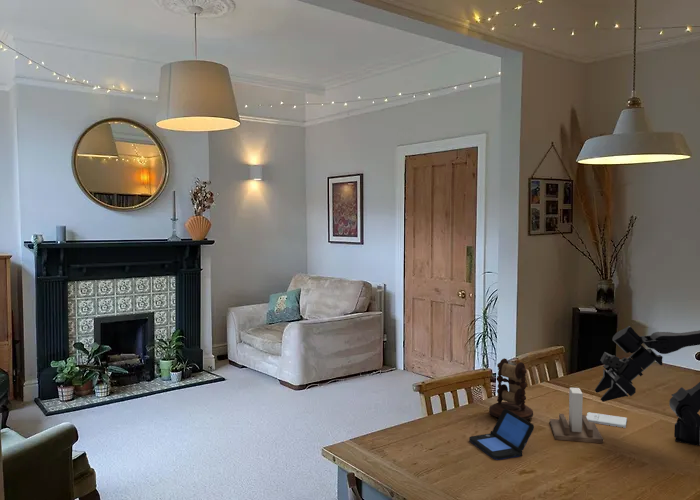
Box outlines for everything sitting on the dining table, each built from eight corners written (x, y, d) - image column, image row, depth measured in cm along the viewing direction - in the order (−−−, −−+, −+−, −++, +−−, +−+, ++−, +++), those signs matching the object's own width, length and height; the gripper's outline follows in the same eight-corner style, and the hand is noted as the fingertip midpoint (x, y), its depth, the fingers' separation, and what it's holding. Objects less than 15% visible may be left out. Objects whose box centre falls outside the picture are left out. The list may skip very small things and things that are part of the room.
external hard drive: (625, 429, 187) (585, 423, 193) (626, 422, 195) (587, 415, 201) (625, 425, 187) (585, 418, 193) (627, 417, 194) (587, 411, 200)
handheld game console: (467, 441, 178) (467, 412, 177) (504, 435, 182) (504, 407, 181) (495, 461, 163) (496, 430, 162) (535, 455, 167) (535, 424, 167)
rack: (593, 425, 190) (594, 414, 189) (603, 443, 175) (603, 431, 175) (549, 422, 193) (549, 411, 192) (555, 439, 178) (555, 428, 178)
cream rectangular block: (578, 425, 186) (579, 388, 186) (581, 432, 181) (582, 393, 180) (568, 424, 187) (569, 387, 186) (571, 431, 181) (572, 393, 180)
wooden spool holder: (541, 417, 197) (542, 360, 196) (516, 428, 188) (517, 368, 187) (505, 406, 209) (506, 353, 207) (480, 416, 199) (481, 359, 198)
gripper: (610, 338, 188) (575, 369, 192) (624, 351, 170) (584, 386, 173) (636, 363, 187) (599, 394, 190) (652, 379, 169) (612, 413, 172)
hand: (598, 395), depth 182 cm, fingers open, 9 cm apart
